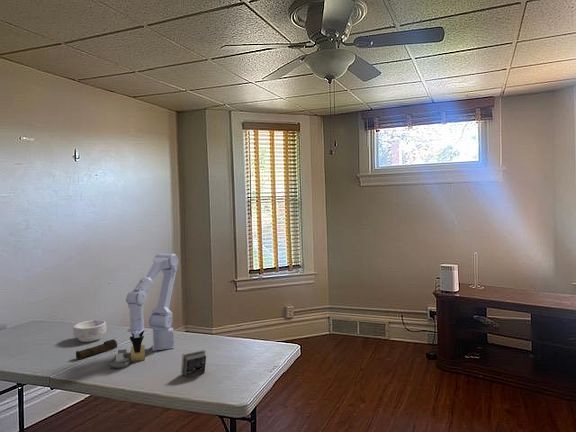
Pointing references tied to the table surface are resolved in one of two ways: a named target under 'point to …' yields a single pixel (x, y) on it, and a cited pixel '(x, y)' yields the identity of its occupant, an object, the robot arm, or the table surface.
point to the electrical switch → (193, 363)
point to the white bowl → (89, 330)
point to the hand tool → (97, 349)
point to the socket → (138, 354)
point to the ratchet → (120, 361)
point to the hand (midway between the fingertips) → (137, 349)
